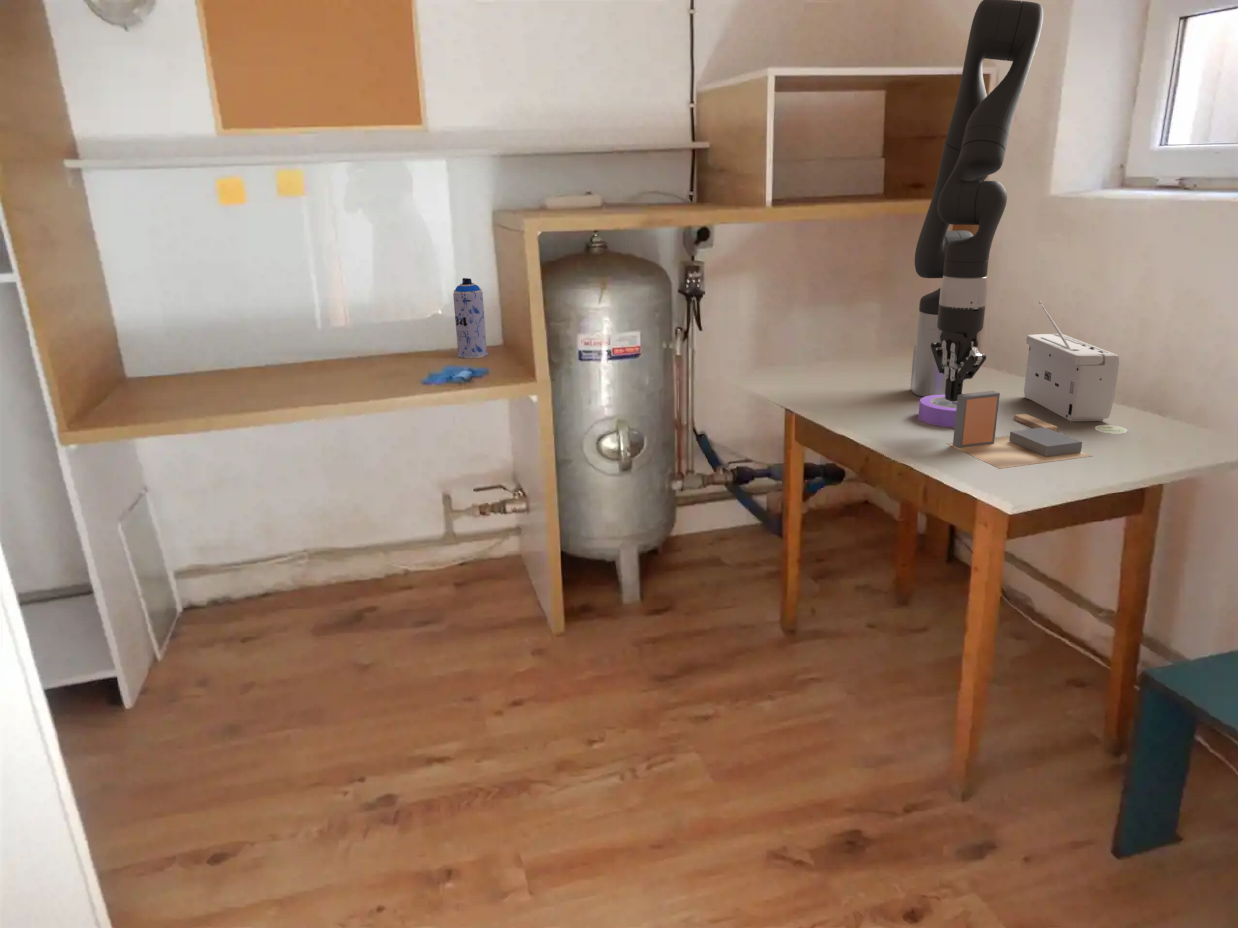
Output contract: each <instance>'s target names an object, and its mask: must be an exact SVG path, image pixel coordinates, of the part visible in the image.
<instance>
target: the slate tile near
mask: <svg viewBox="0 0 1238 928" xmlns="http://www.w3.org/2000/svg"><path fill="white" fill-rule="evenodd" d="M1000 395H1001V393H1000V392H998V391H995V390H989V391H978V392H969V393H962V394H958V398H957V408H956V418H955V427H953V428H954V429H953V430H954V431H953V437H952V438H953V439H952V443H953V445H954V446H956V447H958V448H963V447H971V446H979V445H987V444H994V440H995V437H996V429H997V421H998V420H997V419H998V412H999V406H1000V405H999V404H1000Z"/></svg>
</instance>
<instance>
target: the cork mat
mask: <svg viewBox="0 0 1238 928" xmlns="http://www.w3.org/2000/svg"><path fill="white" fill-rule="evenodd" d="M1009 439H1010V435H1003V436H995V440H994V444H987V445H979V446H971V447H963V448H958V447H956V446H954V445H953V442H948V443H946V445H948V446H951V447H953V448H955V449H956V450H959V451H961V452H962V453H966V454H967V455H970V456H972V457H974V458H976V459H978V460H981V461H983V462H984V463H986V464H989V465H991V466H992V467H995V468H998V469H1000V470H1001V469H1008V468H1015V467H1022V466H1023V467H1024V466H1030V465H1037V464H1044V463H1051V462H1058V461H1060V462H1061V461H1066V460H1067V461H1068V460H1074V459H1082V458H1090V457H1092V455H1091V454H1088V453H1085V452H1083V451H1081V452H1078V453H1071V454H1063V455H1055V456H1048V457H1045V456H1043V455H1040V454H1038V453H1036V452H1033V451H1031V450H1029V449H1026V448H1024V447H1021V446H1019V445H1017V444H1014V443H1012V442H1010V441H1009Z"/></svg>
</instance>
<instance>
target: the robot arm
mask: <svg viewBox="0 0 1238 928" xmlns="http://www.w3.org/2000/svg"><path fill="white" fill-rule="evenodd" d="M1043 22H1044V8H1043V6H1042V5H1041V4H1040V3H1037V2H1035V1H1034V2H1033V1H1027V0H1026V1H1024V0H981V1H980V3H979V4H978V5H977V8H976V11H975V13H974V16H973V19H972V23H971V26H970V30H969V31H970V32H969V35H968V40H967V47H966V50H965V51H966V52H965V56H964V57H965V58H964V61H963V68H962V72H961V73H962V74H961V79H960V84H959V88H958V93H957V97H956V100H955V101H956V102H955V104H954V108H953V112H952V116H951V119H950V123H949V125H948V126H949V127H948V129H947V130H948V131H947V135H946V137H945V141H944V145H943V149H942V154H941V156H940V157H941V158H940V162H939V168H938V172H937V177H936V181H935V185H934V189H933V193H932V197H931V200H930V204H929V207H928V209H927V213H926V216H925V218H924V221H923V224H922V228H921V231H920V232H919V233H920V234H919V237H918V238H917V239H918V240H917V243H916V248H915V253H914V269H915V272H916V274H917V275H918V277H920V278H922V279H942V281H941V284H940V287H939V288H938V289H936V290H934V291H932V292H929V293H927V294H924V295H923V296H922V297H921V298H920V300H919V308H918V319H917V320H918V321H917V334H916V343H915V345H914V346H913V353H912V364H911V365H912V366H911V377H910V378H911V379H910V390H912V393H913V394H914V395H917V396H919V397H922V398H923V397H926V396H931V395H945V399H946V400H949V401H957V398H958V394H963V384H964V381H965V380H970V379H973V378H974V376H975V375H976V373H977V372H978V371H979V370H980V369H981V367H982V365H983V364H984V363H985V361H986V360H987V355H986V353H981V352H980V351H979V350H978V347H979V341H978V334H979V332H981V331H982V330H983V329H984V323H985V322H984V321H985V314H986V313H985V312H986V304H987V302H986V301H987V295H988V283H987V282H988V281H987V280H988V269H989V260H990V254H991V253H990V252H991V248H992V243H993V241H994V237H995V234H996V232H997V229H998V226H999V224H1000V221H1001V219H1002V217H1003V214H1004V212H1005V208H1006V206H1007V203H1008V202H1007V200H1008V193H1007V190H1006V188H1005V186H1004V185H1003V184H1002V183H1001V182H1000V181H998V180H997V181H996V180H986V179H987V178H988V176H989V175H992V174H996V173H997V172H998V171H999V170H1001V168H1002V166H1003V163H1004V160H1005V155H1006V151H1007V145H1008V142H1009V137H1010V132H1011V127H1012V123H1013V120H1014V116H1015V112H1016V109H1017V107H1018V104H1019V101H1020V98H1021V96H1022V93H1023V91H1024V88H1025V84H1026V81H1027V79H1028V76H1029V72H1030V69H1031V66H1032V63H1033V60H1034V57H1035V53H1036V51H1037V47H1038V44H1039V40H1040V37H1041V33H1042V28H1043ZM985 59H987V60H994V61H1006V62H1012V63H1011V66H1010V68H1009V70H1008V71H1007V73H1006V74H1005V75H1004V77H1003V79H1002V80H1001V81H1000V82H999V83H998V84H997V85H996V86H995V88H993V90H992V91H990V92H989V94H987V91H986V86H985V81H984V75H983V74H984V73H983V62H984V60H985ZM950 225H951V226H953V225H955V226H957V225H959V226H961V225H962V226H963V225H965V226H979V227H978V229H977V231H976V233H975V234H974V235H973V233H972V232H971V231H969V230H964V229H963V230H961V229H959V230H948V228H949V226H950Z"/></svg>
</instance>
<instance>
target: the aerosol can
mask: <svg viewBox="0 0 1238 928" xmlns="http://www.w3.org/2000/svg"><path fill="white" fill-rule="evenodd" d="M452 295H453V306H454V308H453V309H454V319H455V320H454V322H455V330H456V344H457V357H458V358H460V359H478V358H479V359H480V358H484V357H487V356H489V353H488V350H487V349H488V348H487V338H486V337H487V336H486V321H485V307H484V295H483V289H482V288H480V286H479V285H477V284H475V283H474V282H472V278H469V277H468V278H467V277H463V278H462V283H460V284H458V285H457V286H456V287H455V289H454V290H453V294H452Z"/></svg>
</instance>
